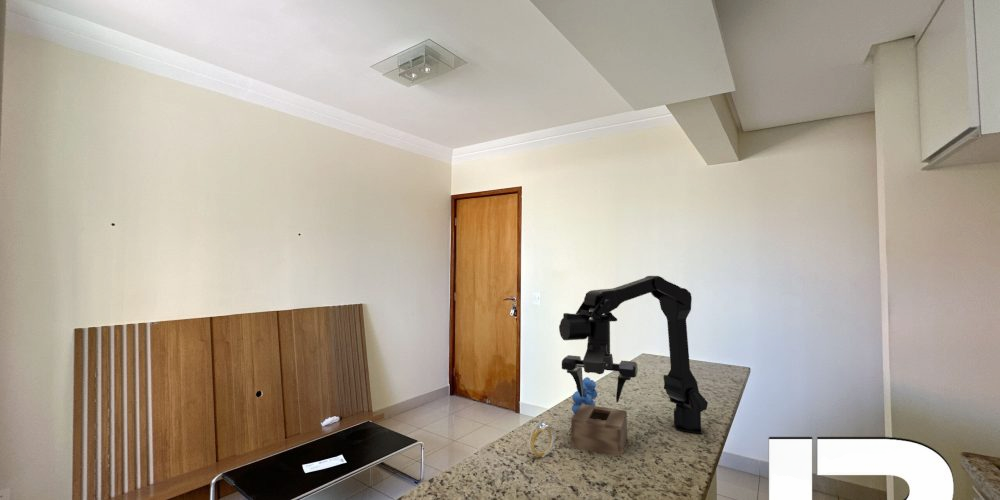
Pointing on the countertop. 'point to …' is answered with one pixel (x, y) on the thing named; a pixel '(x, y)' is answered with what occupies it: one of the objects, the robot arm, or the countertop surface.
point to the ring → (534, 436)
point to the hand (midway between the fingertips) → (599, 399)
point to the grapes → (585, 395)
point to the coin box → (599, 429)
